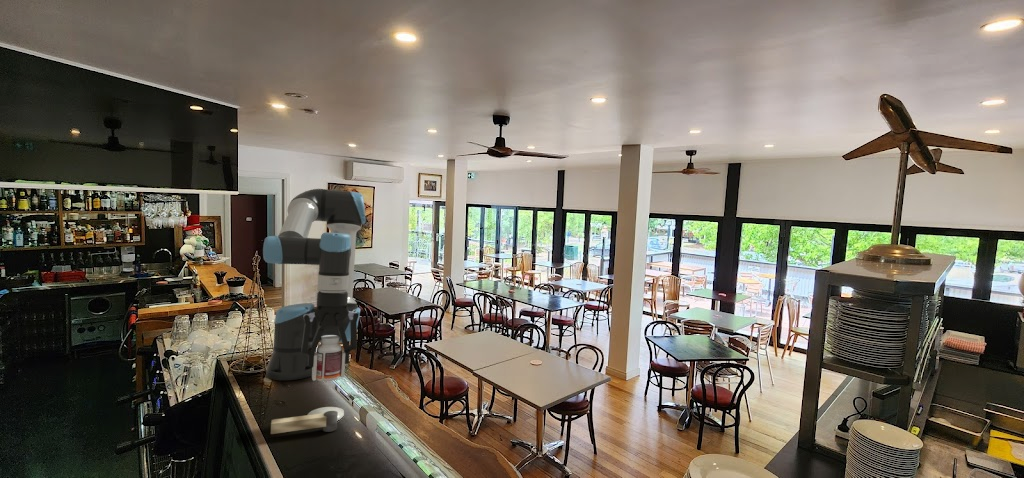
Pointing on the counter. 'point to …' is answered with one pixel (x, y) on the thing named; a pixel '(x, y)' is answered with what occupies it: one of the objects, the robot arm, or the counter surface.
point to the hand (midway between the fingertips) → (328, 377)
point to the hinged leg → (306, 422)
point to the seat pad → (326, 409)
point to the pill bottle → (329, 358)
